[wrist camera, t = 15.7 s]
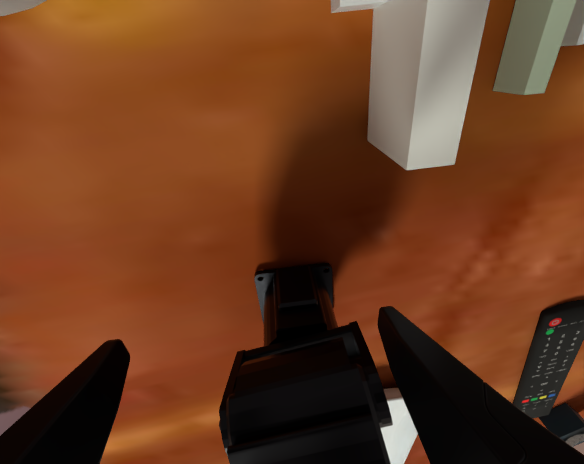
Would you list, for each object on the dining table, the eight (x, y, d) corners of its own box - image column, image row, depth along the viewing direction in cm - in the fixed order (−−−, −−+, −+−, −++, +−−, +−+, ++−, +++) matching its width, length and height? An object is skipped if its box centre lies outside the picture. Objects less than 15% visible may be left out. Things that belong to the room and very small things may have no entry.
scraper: (436, 132, 19) (499, 159, 14) (333, 144, 19) (360, 176, 14) (477, -110, 13) (612, -217, 8) (329, -96, 13) (372, -197, 8)
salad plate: (248, 383, 33) (246, 415, 30) (424, 369, 34) (439, 398, 31) (257, 463, 44) (257, 492, 41) (390, 449, 45) (399, 476, 42)
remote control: (505, 413, 43) (512, 422, 42) (537, 304, 30) (548, 314, 29) (541, 405, 42) (548, 414, 41) (588, 292, 30) (601, 301, 29)
